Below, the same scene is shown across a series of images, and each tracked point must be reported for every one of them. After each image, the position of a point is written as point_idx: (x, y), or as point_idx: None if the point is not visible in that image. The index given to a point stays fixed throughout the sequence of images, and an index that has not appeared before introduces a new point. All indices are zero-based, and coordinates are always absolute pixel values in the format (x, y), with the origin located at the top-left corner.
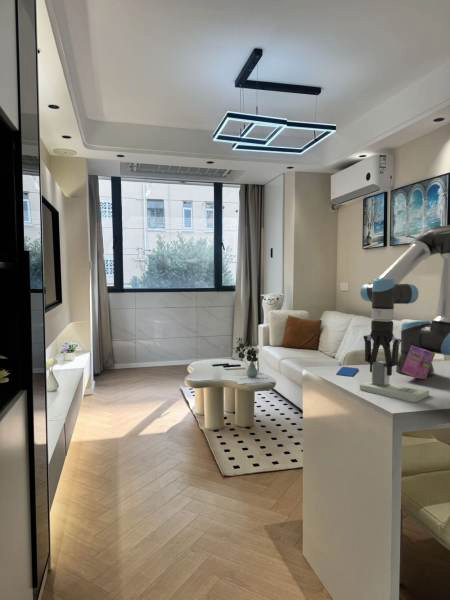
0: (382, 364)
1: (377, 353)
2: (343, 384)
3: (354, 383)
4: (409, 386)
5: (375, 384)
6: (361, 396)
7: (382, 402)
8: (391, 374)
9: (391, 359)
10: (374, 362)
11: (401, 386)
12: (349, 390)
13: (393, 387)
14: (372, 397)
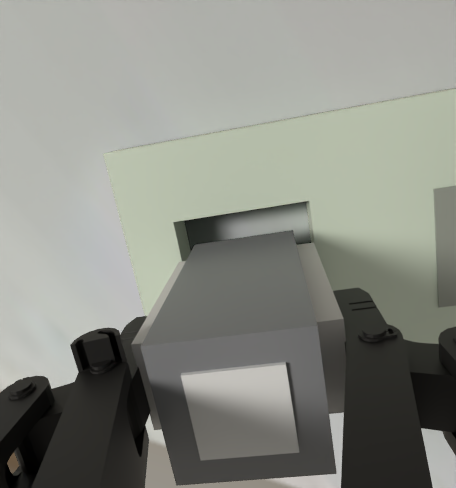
0: (318, 464)
1: (106, 480)
2: (21, 359)
3: (29, 273)
4: (454, 105)
5: (182, 240)
6: (284, 481)
7: (436, 484)
8: (364, 293)
9: (412, 398)
10: (196, 480)
11: (403, 176)
12: (153, 438)
13: (375, 267)
14: (337, 450)
